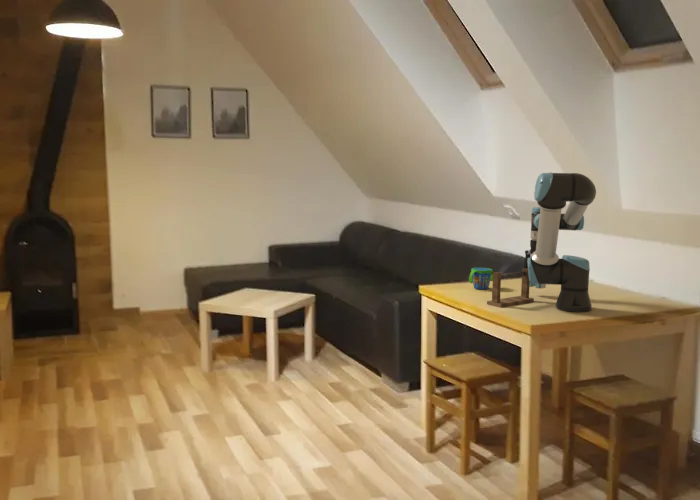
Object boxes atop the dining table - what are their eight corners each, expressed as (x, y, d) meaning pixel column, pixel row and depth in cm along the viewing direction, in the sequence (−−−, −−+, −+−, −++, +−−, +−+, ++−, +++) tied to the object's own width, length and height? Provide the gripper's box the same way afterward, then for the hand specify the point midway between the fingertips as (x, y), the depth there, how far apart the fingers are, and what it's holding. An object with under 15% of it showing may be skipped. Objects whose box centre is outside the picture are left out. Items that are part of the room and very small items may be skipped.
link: (533, 285, 354) (534, 269, 353) (545, 287, 349) (546, 271, 348) (527, 286, 351) (527, 270, 350) (538, 288, 346) (539, 272, 345)
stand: (520, 298, 344) (521, 267, 342) (533, 301, 337) (535, 269, 335) (486, 304, 330) (488, 271, 328) (500, 307, 324) (501, 274, 322)
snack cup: (486, 285, 378) (487, 266, 376) (499, 289, 369) (500, 269, 367) (462, 288, 370) (463, 268, 369) (475, 291, 361) (476, 271, 360)
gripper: (516, 238, 353) (514, 284, 356) (550, 242, 337) (548, 290, 340) (527, 237, 357) (525, 283, 360) (560, 241, 341) (558, 289, 344)
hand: (536, 286), depth 350 cm, fingers closed on link, 7 cm apart
